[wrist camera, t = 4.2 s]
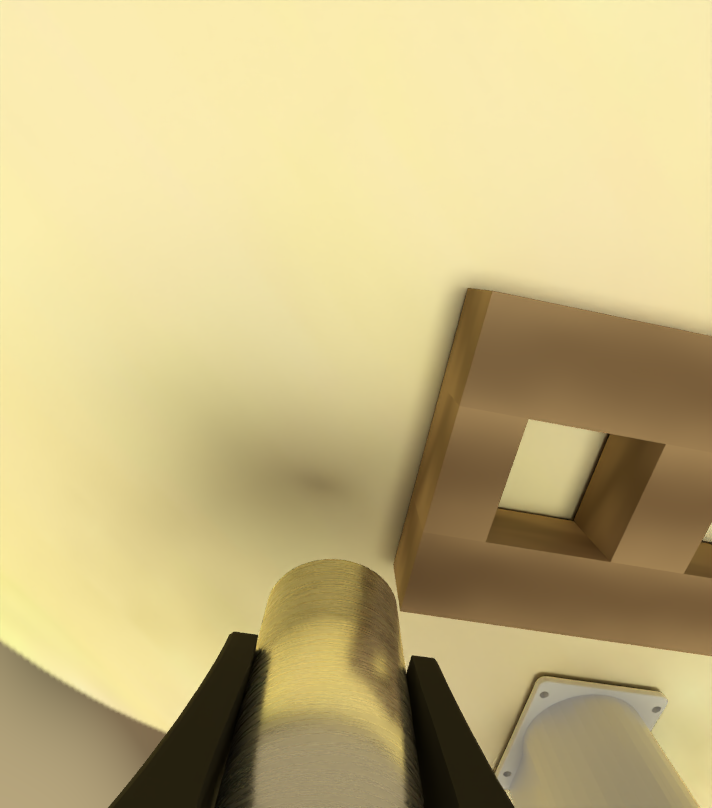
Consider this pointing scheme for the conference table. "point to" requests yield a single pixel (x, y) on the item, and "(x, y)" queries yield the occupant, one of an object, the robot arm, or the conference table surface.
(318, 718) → the battery
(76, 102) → the conference table surface
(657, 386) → the jig plate
